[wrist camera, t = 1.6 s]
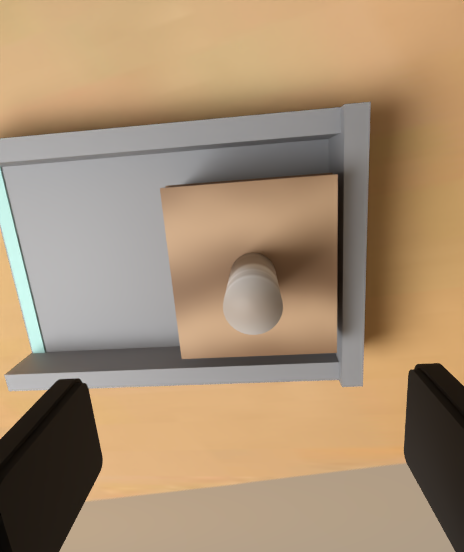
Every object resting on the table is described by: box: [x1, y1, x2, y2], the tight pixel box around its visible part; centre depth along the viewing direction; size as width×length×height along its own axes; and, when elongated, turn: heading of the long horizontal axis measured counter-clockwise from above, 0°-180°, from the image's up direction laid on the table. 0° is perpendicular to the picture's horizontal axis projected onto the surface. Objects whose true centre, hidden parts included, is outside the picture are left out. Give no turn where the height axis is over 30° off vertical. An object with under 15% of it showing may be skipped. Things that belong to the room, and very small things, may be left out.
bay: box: [0, 102, 371, 391], centre depth 29 cm, size 20×30×6 cm
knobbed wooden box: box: [160, 173, 338, 359], centre depth 24 cm, size 12×11×13 cm
